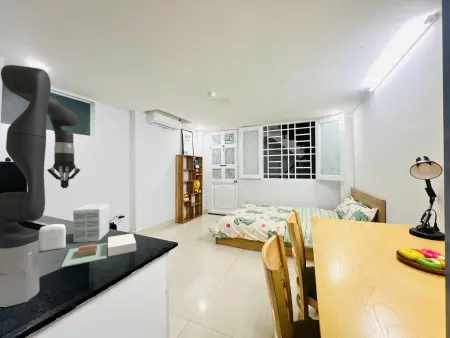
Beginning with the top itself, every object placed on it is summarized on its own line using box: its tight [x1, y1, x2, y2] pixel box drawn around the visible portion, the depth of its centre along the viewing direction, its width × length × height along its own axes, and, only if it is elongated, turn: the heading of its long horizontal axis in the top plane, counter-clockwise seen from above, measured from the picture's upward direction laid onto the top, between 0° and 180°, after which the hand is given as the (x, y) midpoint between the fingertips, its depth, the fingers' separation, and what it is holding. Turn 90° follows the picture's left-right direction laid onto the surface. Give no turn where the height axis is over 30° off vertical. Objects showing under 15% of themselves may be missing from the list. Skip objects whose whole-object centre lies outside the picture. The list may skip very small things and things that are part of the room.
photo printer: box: [38, 223, 67, 252], centre depth 100 cm, size 10×4×12 cm, turn 123°
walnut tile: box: [77, 242, 98, 258], centre depth 94 cm, size 9×7×2 cm
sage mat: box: [60, 242, 108, 268], centre depth 94 cm, size 20×16×1 cm
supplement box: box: [72, 203, 110, 243], centre depth 117 cm, size 17×13×18 cm
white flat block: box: [107, 232, 137, 257], centre depth 101 cm, size 16×12×4 cm
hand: (64, 188), depth 97 cm, fingers closed
